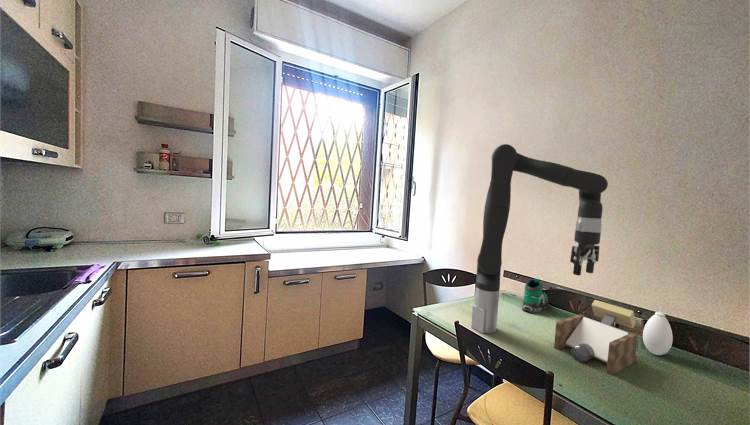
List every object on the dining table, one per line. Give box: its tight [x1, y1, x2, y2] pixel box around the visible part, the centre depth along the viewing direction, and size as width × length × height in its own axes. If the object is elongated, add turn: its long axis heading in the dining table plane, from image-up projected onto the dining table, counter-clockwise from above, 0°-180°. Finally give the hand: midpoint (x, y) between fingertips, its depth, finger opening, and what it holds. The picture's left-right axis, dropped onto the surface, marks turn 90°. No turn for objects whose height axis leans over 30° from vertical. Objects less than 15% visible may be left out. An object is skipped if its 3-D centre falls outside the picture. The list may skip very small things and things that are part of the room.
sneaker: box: [521, 278, 550, 315], centre depth 149 cm, size 9×24×15 cm, turn 130°
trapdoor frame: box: [553, 313, 639, 376], centre depth 105 cm, size 19×18×10 cm
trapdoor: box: [566, 299, 637, 364], centre depth 107 cm, size 22×14×6 cm
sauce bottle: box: [642, 305, 674, 356], centre depth 107 cm, size 8×8×18 cm
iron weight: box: [570, 343, 595, 363], centre depth 101 cm, size 5×5×5 cm
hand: (583, 273), depth 107 cm, fingers open, 8 cm apart
